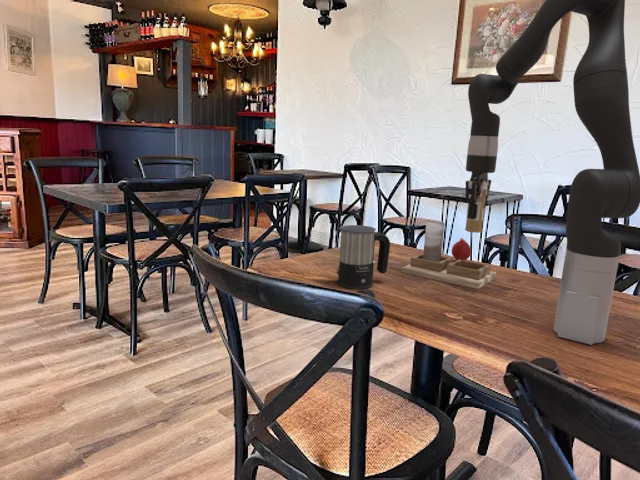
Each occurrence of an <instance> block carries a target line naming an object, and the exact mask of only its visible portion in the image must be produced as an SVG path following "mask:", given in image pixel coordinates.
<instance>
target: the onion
mask: <svg viewBox="0 0 640 480" xmlns="http://www.w3.org/2000/svg"><path fill="white" fill-rule="evenodd" d="M451 254H452V258H454V259H455V261H457V260H459V259H460V260H465V261H467V260H468V259H469V258H470V257H471V254H472V249H471V246H470V244H469V243H468V242H467V241H466V240H465V239H464V238H463V237H460V240H458V241H457V242H456V243H455V242H454V244H453V246H452V247H451Z"/></svg>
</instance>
